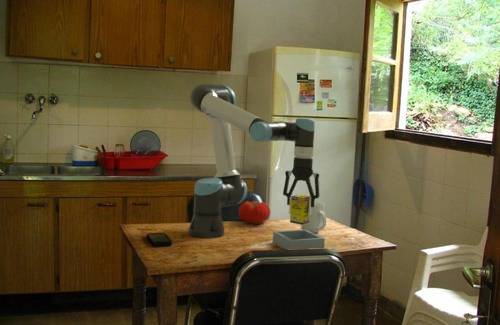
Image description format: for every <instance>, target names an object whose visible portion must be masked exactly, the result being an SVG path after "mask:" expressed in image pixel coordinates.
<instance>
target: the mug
mask: <svg viewBox="0 0 500 325" xmlns="http://www.w3.org/2000/svg"><path fill="white" fill-rule="evenodd" d="M325 208H326V207H325V203H324V202H320V201H315V202H314V207H312V208H311V215H310V216H309V223H305V224H303V225H301V224H300V227H301V230H307V231H309V232H312V233H314V234H317V233H319V232H320V231H323V230H324V229H325V228H326V226H327V217H326V216H327V215H326V214H325Z"/></svg>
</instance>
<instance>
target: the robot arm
mask: <svg viewBox="0 0 500 325" xmlns="http://www.w3.org/2000/svg"><path fill="white" fill-rule="evenodd" d="M236 99H237V98H236V95H235V92H234V91H233V89H232V88H231V87H229V86H227V85H223V84H212V83H201V84H196V86H194V87H193V89H192V90H191V92H190V94H189V101H190V104H191V105H192V107H193V108H194V109H196V110H197V111H199V112H201V113H203V114H205V115H206V118H208V119H209V121H210V128H211V135H212V142H213V151H214V161H215V168H216V174H215V175H214V176H213V177H204V178H200V179H198V180H197V181H196V182H195V184H194V190H193V192H194V193H193V196H194V197H193V215H192V216H193V217H192V219H191V221H190V224H189V227H188V234H189V235H191V236H192V237H197V238H203V239H205V238H208V239H209V238H210V239H212V238H214V239H215V238H220V237H223V236H224V235H225V226H224V222H223V219H222V208H224V207H226V208H227V207H230V206H232V207H234V206H236V205H239V204H242V203H243V202H244V201H245V199H246V197H247V194H248V186H247V184H246V182H244V181H245V180H243V179H242V178H241V173H240V172H238V171H237V167H236V158H235V153H234V150H235V149H234V144H233V137H232V128H231V126H233V127H235V128H237V129H238V130H241V131H243V132H244V133H247V134H249V135H250V137H251V139H252V140H254V141H256V142H263V143H264V142H272V141H273V142H276V141H277V142H278V141H283V142H284V141H285V142H287V141H288V142H294V147H293V149H294V150H293V156H294V158H293V163H292V164H293V167H292V169H290V170H286V171H285V172H284V174H285V181H284V186H283V192H282V195H283V196H285V197H286V198H287V199H286V200H287V201H286V205H287V206H289V207H288V208H289V209H288V210H289V211H288V214H289V215H290V213H291V196H293V192H294V190H295V187H296V185H297V184H298V182H299V181H303V182H305V184H306V186H307V189H308V193H309V196H311V198H310V199H309V211H308V216H310V215H311V208H312V207H314V202H316V201H315V200H316V199H319V198H320V197H321V196H320V182H319V181H320V180H319V179H320V175H321V174H320V172H314V170H313V162H314V159H313V157H314V142H315V130H316V127H315V120H314V119H313V118H306V117H305V118H303V117H298V118H296V119H295V122H289V121H288V122H287V121H281V120H279V121H268V120H265V119H262V118H261V117H258V116H256V115H254V114H253V113H251V112H248V111H247V110H244V109H243V108H240V107H238V106H236V101H237V100H236ZM292 174H293V175H292ZM291 175H292V176H294V178H293V181H292V184H291V186H290V178H291ZM312 176H313V178H314V189H313V186H312V183H311V179H310V178H311V177H312ZM289 186H290V188H289ZM288 189H289V190H288ZM314 191H315V193H314Z"/></svg>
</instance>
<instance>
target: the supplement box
mask: <svg viewBox="0 0 500 325" xmlns="http://www.w3.org/2000/svg"><path fill="white" fill-rule="evenodd" d="M310 198H311V196H310V195H306V194H299V193H298V194H294V195H291V213H290V214H289V223H290V224H291V223H292V224H296V225H300V226H301V225H303V224H305V223H309V216H308V211H309V199H310Z"/></svg>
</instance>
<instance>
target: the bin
mask: <svg viewBox="0 0 500 325" xmlns="http://www.w3.org/2000/svg"><path fill="white" fill-rule="evenodd" d="M325 242H326V241H325V237H322V236H320V235H318V234H317V233H312V232H309V231H307V230H302V229H295V230H294V229H293V230H276V231H273V232H272V243H273V244H274V245H277V246H278V247H280V248H282V249H283V250H285V249H309V248H324V249H325Z"/></svg>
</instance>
